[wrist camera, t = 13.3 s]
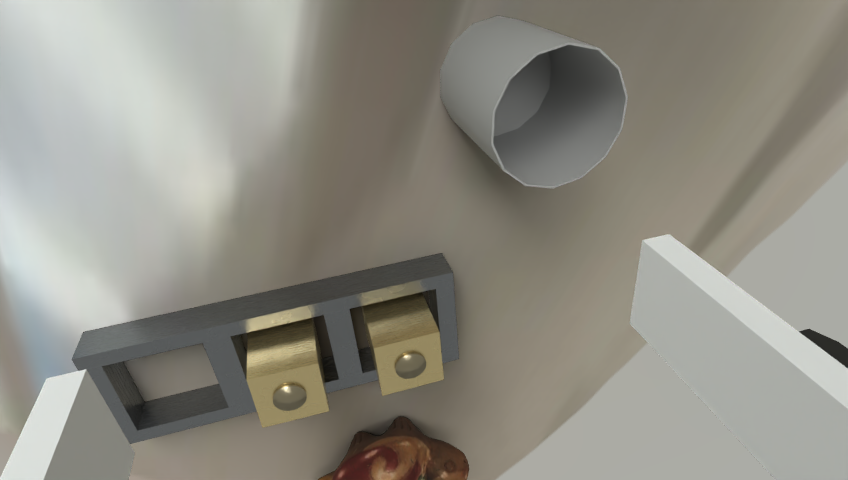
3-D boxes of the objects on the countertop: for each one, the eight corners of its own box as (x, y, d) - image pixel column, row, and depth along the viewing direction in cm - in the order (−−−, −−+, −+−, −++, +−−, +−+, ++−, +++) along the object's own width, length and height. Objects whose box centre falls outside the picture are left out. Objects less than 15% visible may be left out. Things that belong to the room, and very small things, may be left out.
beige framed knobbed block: (358, 293, 45) (374, 350, 39) (416, 280, 46) (440, 334, 40) (367, 338, 47) (383, 398, 41) (421, 324, 48) (444, 381, 42)
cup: (514, 148, 42) (577, 204, 33) (421, 113, 38) (466, 165, 30) (568, 43, 39) (653, 75, 30) (472, -5, 35) (538, 16, 27)
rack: (83, 332, 40) (71, 359, 37) (441, 253, 45) (452, 272, 42) (130, 416, 45) (122, 445, 42) (448, 337, 50) (459, 359, 47)
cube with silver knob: (248, 318, 43) (246, 382, 37) (310, 305, 44) (318, 365, 38) (262, 364, 46) (262, 430, 40) (320, 350, 47) (329, 413, 41)
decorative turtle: (464, 431, 57) (488, 503, 51) (337, 487, 58) (344, 565, 51) (433, 380, 51) (455, 454, 45) (292, 443, 52) (293, 524, 46)
